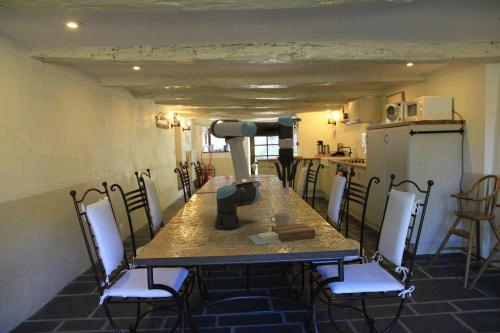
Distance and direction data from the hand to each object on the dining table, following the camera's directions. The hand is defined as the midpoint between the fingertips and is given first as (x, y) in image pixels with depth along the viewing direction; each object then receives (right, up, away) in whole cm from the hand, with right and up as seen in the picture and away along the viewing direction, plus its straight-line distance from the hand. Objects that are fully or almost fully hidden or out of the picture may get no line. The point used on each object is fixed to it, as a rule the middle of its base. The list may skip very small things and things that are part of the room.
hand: (286, 194), depth 165 cm
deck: (+4, -22, +3) cm, 23 cm away
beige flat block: (-9, -22, -1) cm, 24 cm away
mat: (-12, -23, -1) cm, 26 cm away
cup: (-2, -21, +21) cm, 29 cm away
